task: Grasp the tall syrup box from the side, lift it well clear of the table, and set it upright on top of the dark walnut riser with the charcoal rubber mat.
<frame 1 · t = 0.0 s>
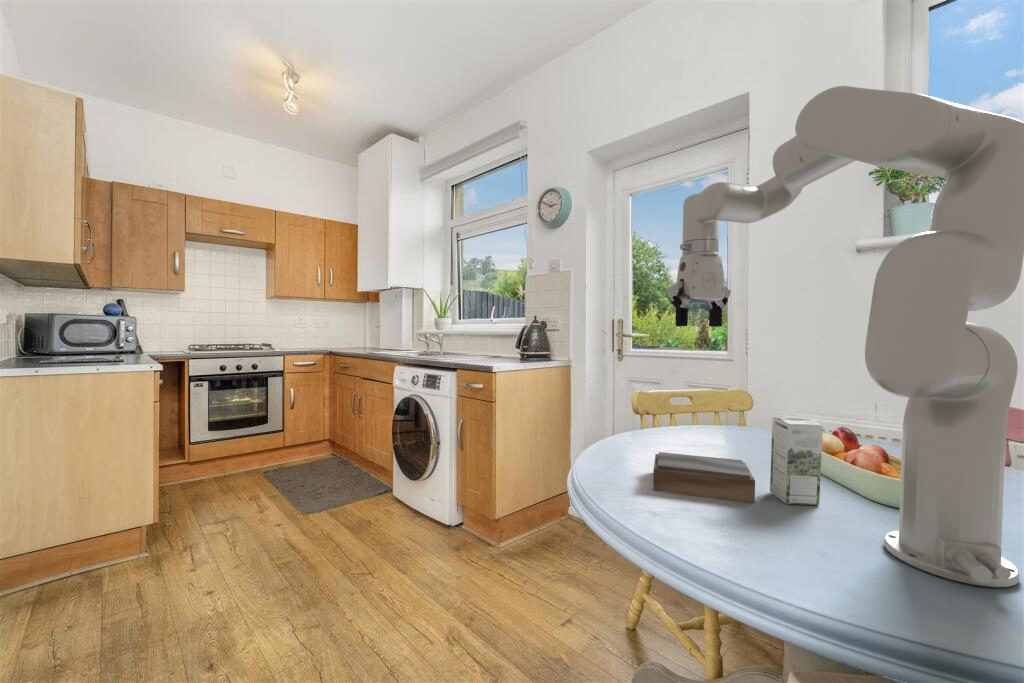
hand: (698, 326, 99), 31 cm above the table, tool pointing down, fingers open, 9 cm apart
syrup box: (794, 500, 78), on the table
walnut riser: (700, 486, 85), on the table
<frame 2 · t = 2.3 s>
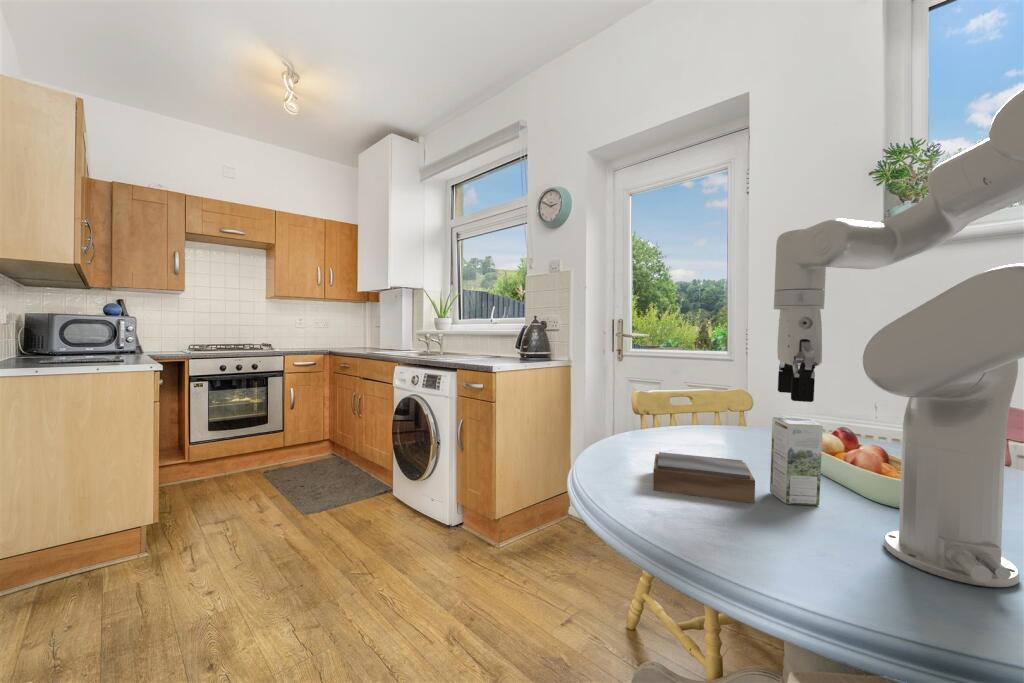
hand: (794, 396, 78), 19 cm above the table, tool pointing down, fingers open, 9 cm apart
nothing on the table moved.
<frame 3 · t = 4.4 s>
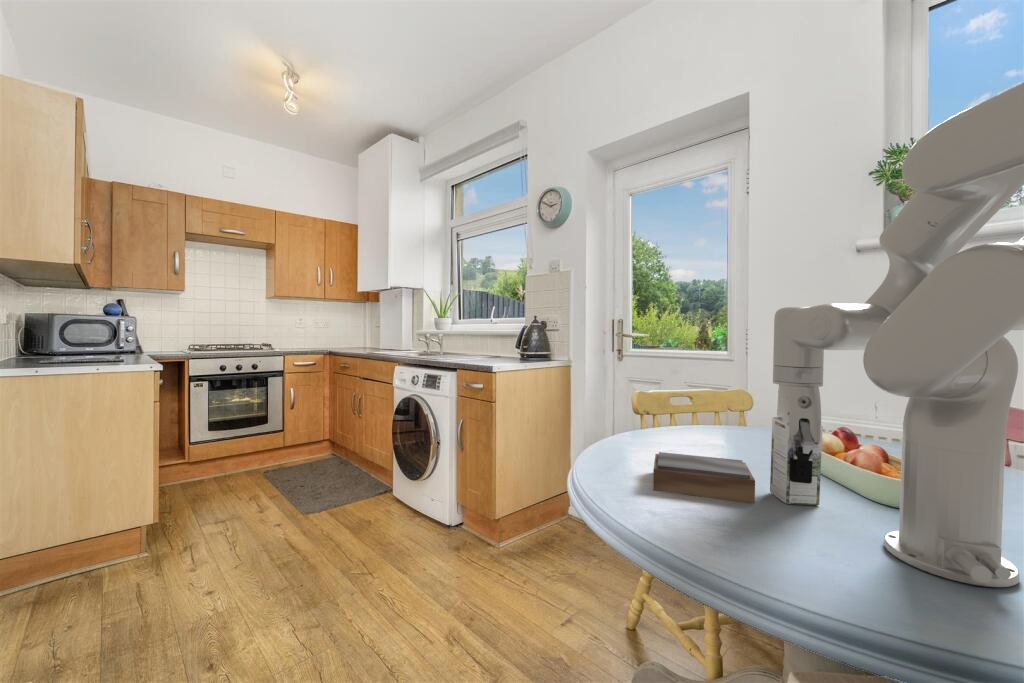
hand: (794, 474, 78), 5 cm above the table, tool pointing down, fingers closed on syrup box, 6 cm apart
syrup box: (794, 500, 78), on the table, touching gripper
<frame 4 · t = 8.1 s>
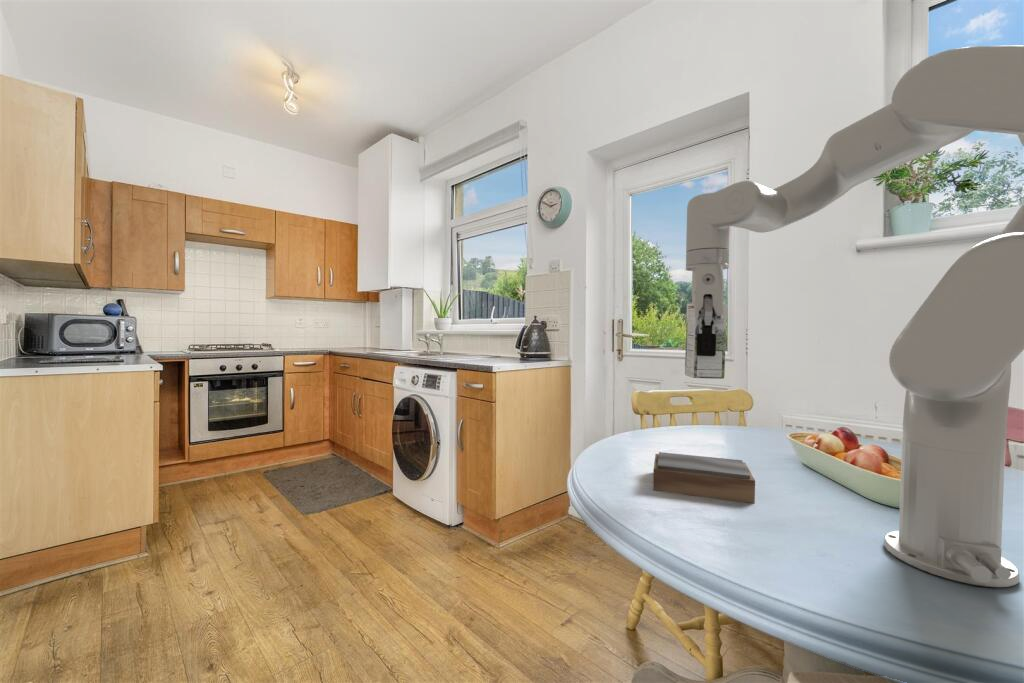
hand: (704, 354, 84), 26 cm above the table, tool pointing down, fingers closed on syrup box, 6 cm apart
syrup box: (704, 378, 84), point 21 cm above the table, touching gripper
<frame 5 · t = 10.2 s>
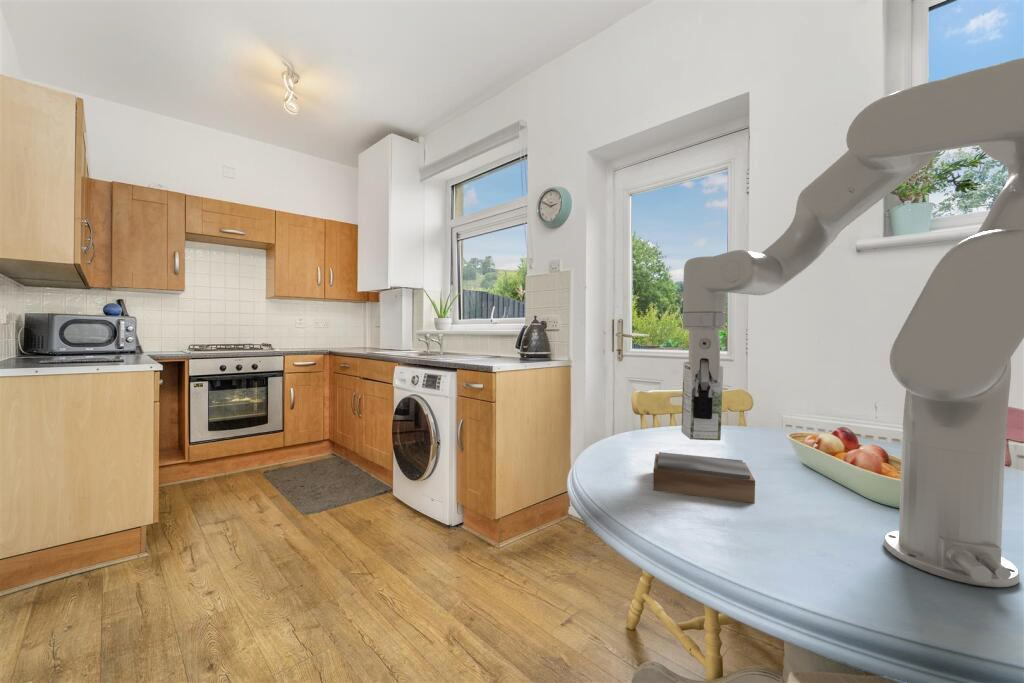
hand: (701, 413, 84), 14 cm above the table, tool pointing down, fingers closed on syrup box, 6 cm apart
syrup box: (700, 438, 84), point 9 cm above the table, touching gripper
when the fingers open (11 cm above the table, at t = 11.9 s): syrup box drops 1 cm, resting on walnut riser.
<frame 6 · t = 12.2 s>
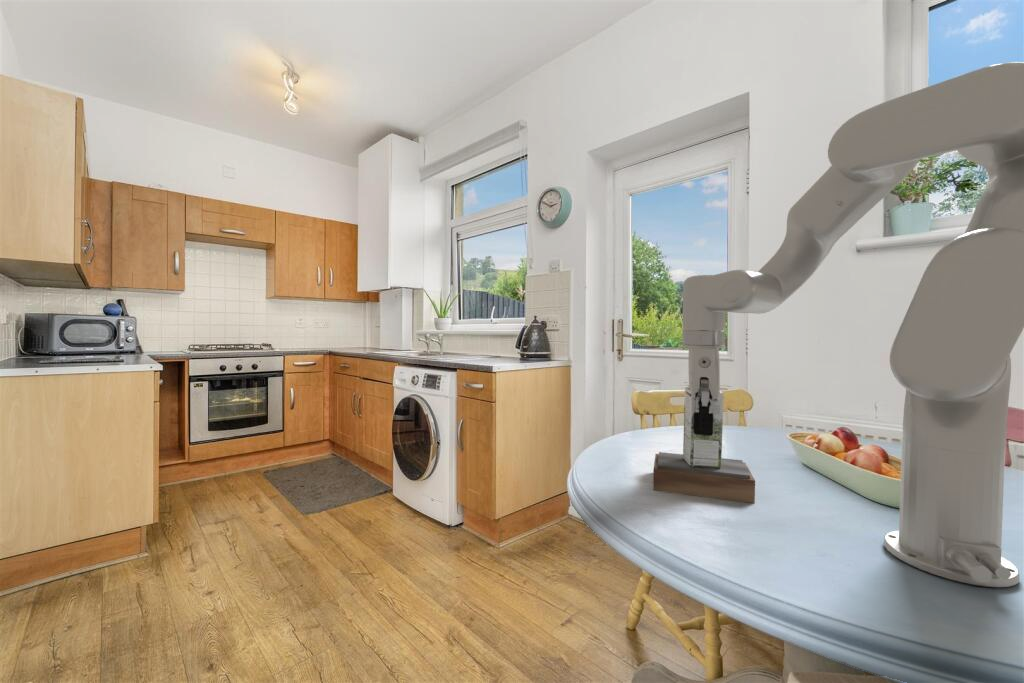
hand: (701, 428, 84), 11 cm above the table, tool pointing down, fingers open, 9 cm apart
syrup box: (701, 464, 84), point 4 cm above the table, touching walnut riser
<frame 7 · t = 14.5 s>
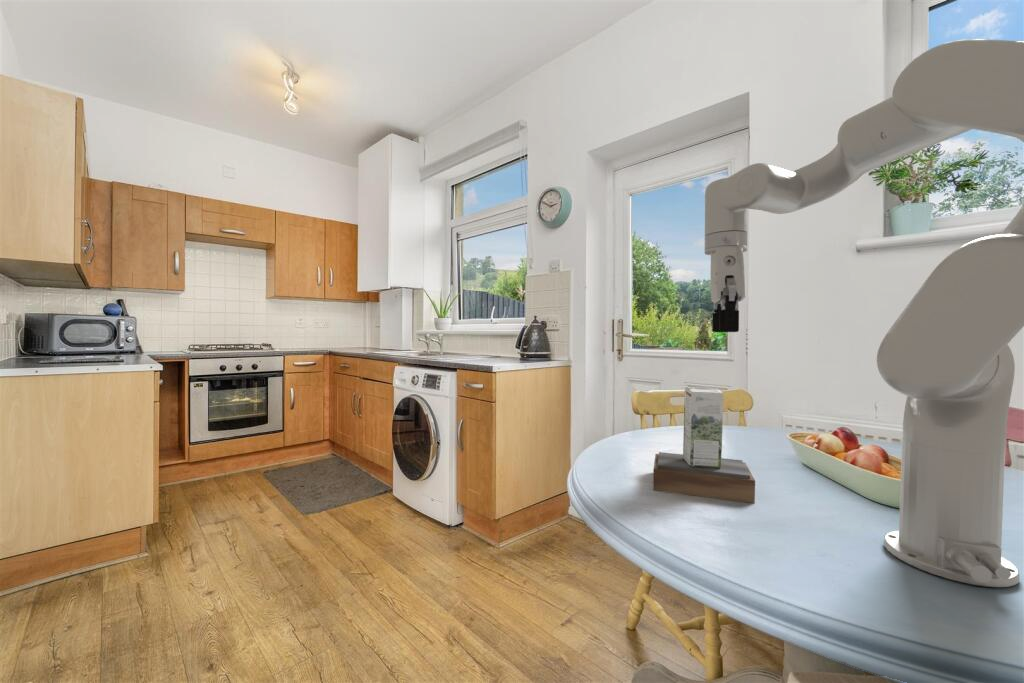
hand: (724, 332, 85), 30 cm above the table, tool pointing down, fingers open, 9 cm apart
nothing on the table moved.
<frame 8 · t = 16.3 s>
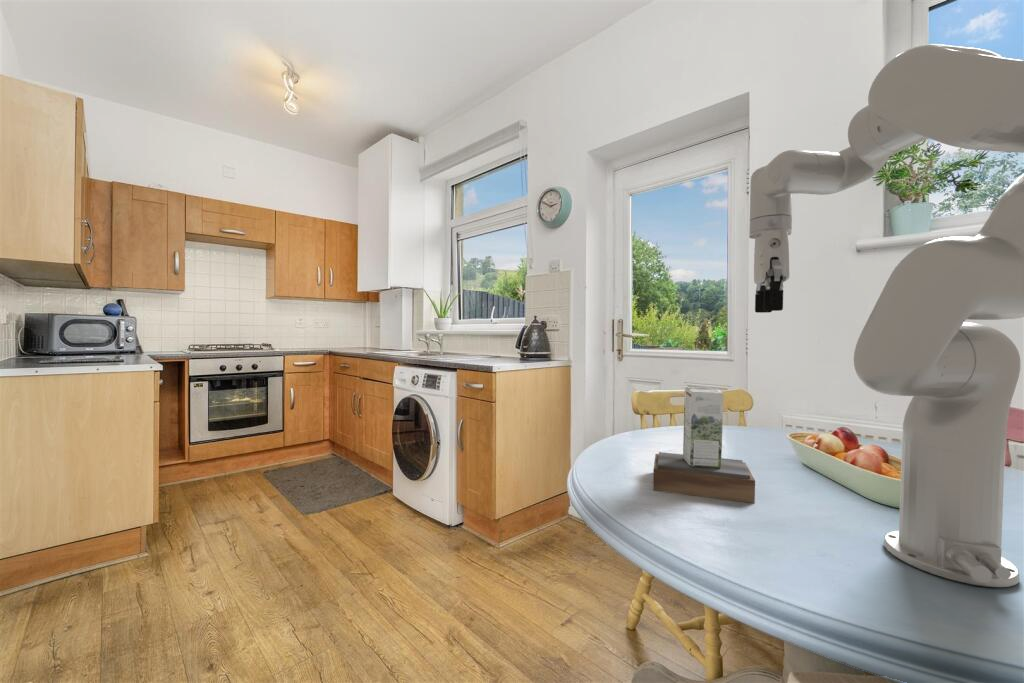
hand: (768, 311, 90), 34 cm above the table, tool pointing down, fingers open, 9 cm apart
nothing on the table moved.
at the end: syrup box inside the target area on the walnut riser (0.5 cm from its centre), point 4.4 cm above the walnut riser's base; syrup box tilted 0°; the gripper is holding nothing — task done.
